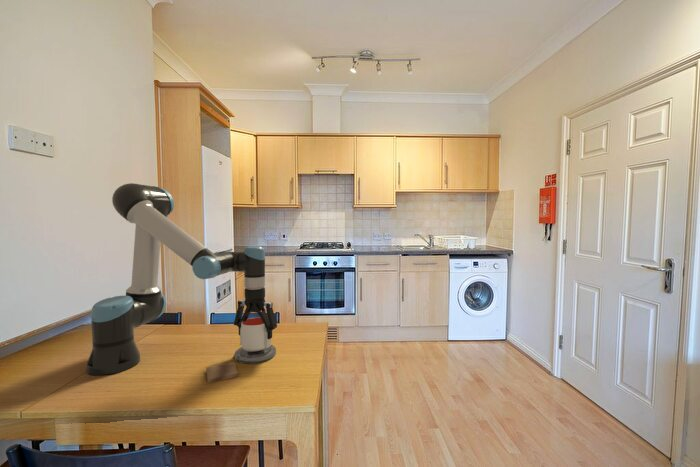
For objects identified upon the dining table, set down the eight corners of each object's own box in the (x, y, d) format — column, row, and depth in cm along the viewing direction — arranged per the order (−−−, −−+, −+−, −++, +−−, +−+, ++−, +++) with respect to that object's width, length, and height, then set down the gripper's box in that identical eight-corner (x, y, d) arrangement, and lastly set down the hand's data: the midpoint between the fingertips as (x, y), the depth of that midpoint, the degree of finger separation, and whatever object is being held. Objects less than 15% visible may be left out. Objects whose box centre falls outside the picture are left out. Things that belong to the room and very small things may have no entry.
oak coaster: (208, 383, 99) (207, 379, 99) (206, 371, 107) (206, 367, 107) (238, 376, 103) (238, 372, 103) (234, 365, 111) (234, 362, 111)
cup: (257, 340, 127) (257, 315, 126) (274, 346, 121) (274, 320, 120) (236, 348, 119) (235, 322, 118) (252, 355, 113) (252, 327, 112)
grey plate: (232, 365, 111) (232, 360, 111) (237, 348, 125) (237, 344, 125) (275, 361, 114) (275, 356, 114) (275, 345, 129) (275, 341, 129)
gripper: (286, 287, 119) (286, 345, 120) (235, 283, 126) (236, 338, 127) (276, 291, 112) (276, 353, 113) (223, 287, 119) (223, 345, 119)
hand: (255, 345), depth 120 cm, fingers closed on cup, 10 cm apart
